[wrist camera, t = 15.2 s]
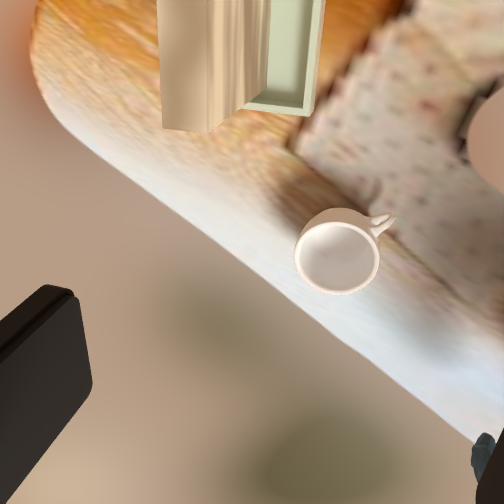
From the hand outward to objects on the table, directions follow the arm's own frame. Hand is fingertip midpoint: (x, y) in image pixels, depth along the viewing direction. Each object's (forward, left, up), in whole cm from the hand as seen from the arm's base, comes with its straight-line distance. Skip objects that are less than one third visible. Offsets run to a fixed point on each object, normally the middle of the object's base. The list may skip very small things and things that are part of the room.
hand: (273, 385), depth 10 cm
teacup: (0, +14, -37) cm, 39 cm away
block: (+11, -3, -36) cm, 37 cm away
